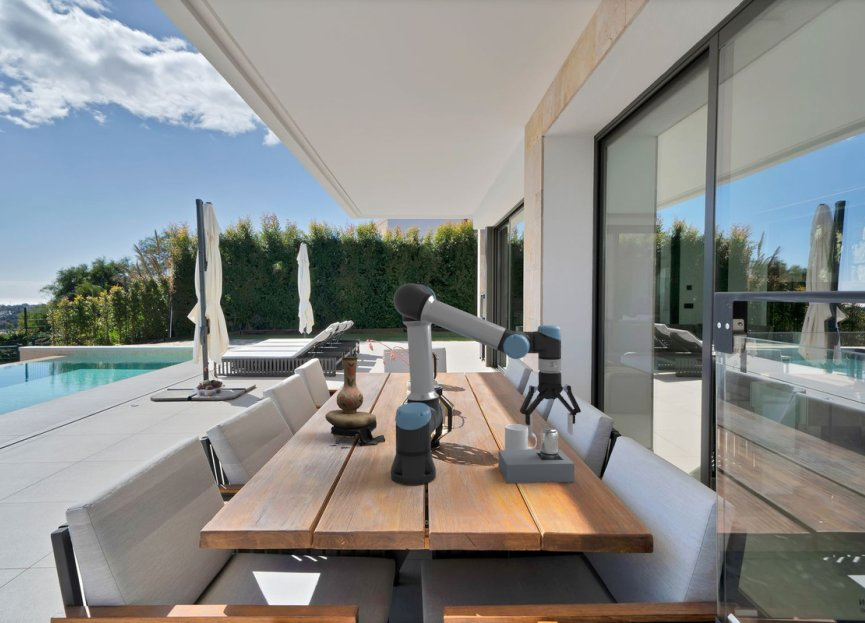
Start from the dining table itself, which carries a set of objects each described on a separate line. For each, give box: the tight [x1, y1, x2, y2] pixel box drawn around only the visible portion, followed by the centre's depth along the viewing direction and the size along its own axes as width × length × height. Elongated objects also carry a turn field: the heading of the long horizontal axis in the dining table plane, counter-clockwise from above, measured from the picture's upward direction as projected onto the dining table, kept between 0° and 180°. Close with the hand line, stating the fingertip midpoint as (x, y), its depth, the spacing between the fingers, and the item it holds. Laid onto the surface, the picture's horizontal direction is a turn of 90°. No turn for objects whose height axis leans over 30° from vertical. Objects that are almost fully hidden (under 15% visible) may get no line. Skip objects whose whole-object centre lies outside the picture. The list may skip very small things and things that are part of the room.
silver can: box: [539, 427, 559, 460], centre depth 150 cm, size 6×6×13 cm
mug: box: [504, 423, 538, 450], centre depth 168 cm, size 9×12×11 cm
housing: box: [497, 448, 575, 484], centre depth 149 cm, size 22×14×6 cm, turn 93°
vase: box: [324, 356, 386, 449], centre depth 188 cm, size 24×22×35 cm
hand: (550, 434), depth 149 cm, fingers open, 13 cm apart
